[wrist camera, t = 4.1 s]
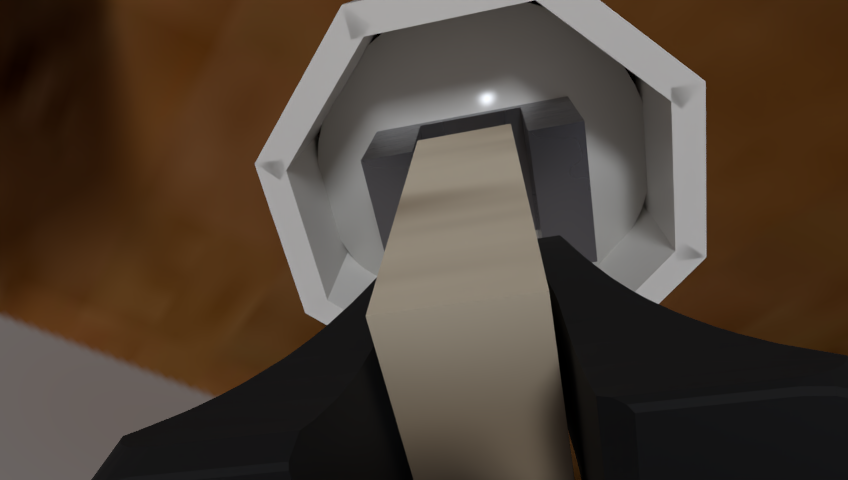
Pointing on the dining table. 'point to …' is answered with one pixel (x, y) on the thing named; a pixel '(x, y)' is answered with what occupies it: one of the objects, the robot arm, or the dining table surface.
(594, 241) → the clip
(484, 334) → the wood grain plank
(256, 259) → the dining table surface
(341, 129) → the bowl
